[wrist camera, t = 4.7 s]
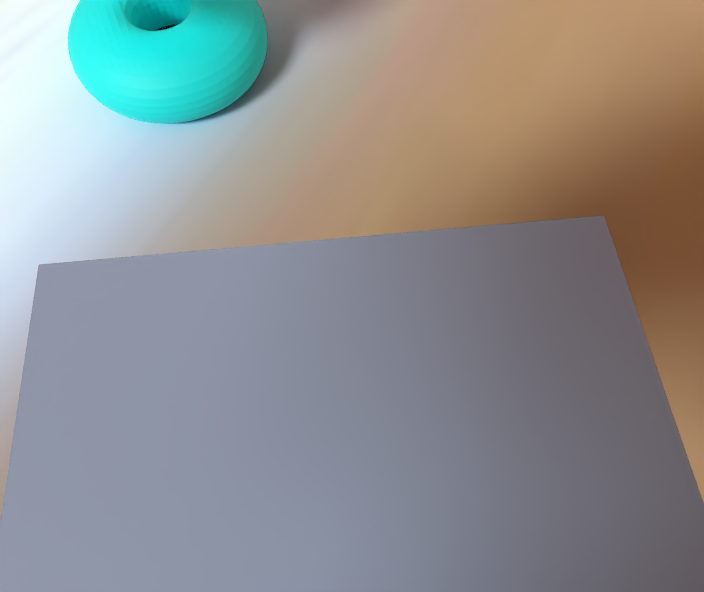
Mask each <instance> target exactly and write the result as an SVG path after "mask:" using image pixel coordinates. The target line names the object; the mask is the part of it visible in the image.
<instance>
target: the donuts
mask: <svg viewBox="0 0 704 592" xmlns="http://www.w3.org/2000/svg"><path fill="white" fill-rule="evenodd" d="M176 24H178V25H176ZM169 25H176V26H174V27H172V28H169V29H165V30H160V31H155V30H157V29H159V28H162V27H165V26H169ZM267 43H268V35H267V28H266V22H265V19H264V16H263V13H262V11H261V9H260V6H259V4H258V3H257V1H256V0H81V1H80V2H79V4H78V5H77V7H76V9H75V11H74V13H73V16H72V19H71V23H70V27H69V33H68V46H69V55H70V59H71V62H72V64H73V67H74V70H75V72H76V74H77V76H78V78H79V79H80V81H81V82H82V84H83V85H84V86H85V88H86V89H87V90H88V91H89V92H90V93H91V94H92V95H93V96H94V97H95V98H96V99H97V100H98V101H99V102H101V103H102V104H103V105H105V106H106V107H108V108H109V109H111V110H113V111H115V112H117V113H119V114H121V115H124V116H127V117H129V118H132V119H136V120H139V121H144V122H150V123H181V122H187V121H191V120H196V119H199V118H203V117H206V116H208V115H211V114H213V113H216V112H218V111H220V110H222V109H224V108H226V107H227V106H229V105H230V104H232V103H233V102H234V101H236V100H237V99H238V98H240V97H241V96H242V95H243V94H244V93H245V92H246V91H247V90H248V89H249V88H250V86H251V85H252V84H253V82H254V81H255V80H256V78H257V76H258V74H259V72H260V71H261V68H262V66H263V63H264V61H265V57H266V52H267Z"/></svg>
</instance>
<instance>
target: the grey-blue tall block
mask: <svg viewBox="0 0 704 592" xmlns="http://www.w3.org/2000/svg"><path fill="white" fill-rule="evenodd" d="M0 592H704V503H703V500H702V498H701V495H700V492H699V489H698V486H697V483H696V480H695V477H694V474H693V471H692V469H691V466H690V463H689V460H688V457H687V454H686V451H685V448H684V445H683V443H682V440H681V437H680V434H679V431H678V428H677V425H676V422H675V419H674V417H673V414H672V411H671V408H670V405H669V402H668V399H667V396H666V393H665V390H664V388H663V385H662V382H661V379H660V376H659V373H658V370H657V367H656V364H655V362H654V359H653V356H652V353H651V350H650V347H649V344H648V341H647V338H646V336H645V333H644V330H643V327H642V324H641V321H640V318H639V315H638V312H637V309H636V307H635V304H634V301H633V298H632V295H631V292H630V289H629V286H628V283H627V281H626V278H625V275H624V272H623V269H622V266H621V263H620V260H619V257H618V255H617V252H616V249H615V246H614V243H613V240H612V237H611V234H610V231H609V228H608V226H607V223H606V220H605V217H604V215H601V216H590V217H578V218H567V219H555V220H544V221H532V222H521V223H509V224H498V225H487V226H475V227H464V228H452V229H441V230H429V231H418V232H407V233H395V234H384V235H372V236H361V237H349V238H338V239H327V240H315V241H304V242H292V243H281V244H269V245H258V246H246V247H235V248H224V249H212V250H201V251H189V252H178V253H166V254H155V255H144V256H132V257H121V258H109V259H98V260H86V261H75V262H64V263H52V264H41V265H39V266H38V273H37V280H36V287H35V293H34V300H33V307H32V314H31V320H30V327H29V334H28V341H27V347H26V354H25V361H24V367H23V374H22V381H21V388H20V394H19V401H18V408H17V415H16V421H15V428H14V435H13V442H12V448H11V455H10V462H9V469H8V475H7V482H6V489H5V496H4V502H3V509H2V516H1V523H0Z"/></svg>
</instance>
